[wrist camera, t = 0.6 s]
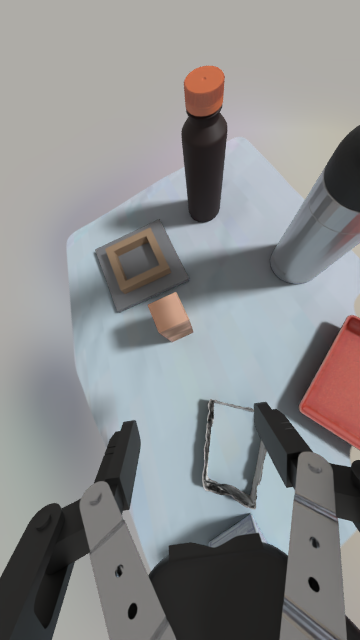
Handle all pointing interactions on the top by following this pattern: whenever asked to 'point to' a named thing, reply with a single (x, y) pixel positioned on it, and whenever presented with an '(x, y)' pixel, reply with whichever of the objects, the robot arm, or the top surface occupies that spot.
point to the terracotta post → (170, 317)
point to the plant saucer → (338, 386)
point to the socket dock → (140, 266)
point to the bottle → (204, 141)
